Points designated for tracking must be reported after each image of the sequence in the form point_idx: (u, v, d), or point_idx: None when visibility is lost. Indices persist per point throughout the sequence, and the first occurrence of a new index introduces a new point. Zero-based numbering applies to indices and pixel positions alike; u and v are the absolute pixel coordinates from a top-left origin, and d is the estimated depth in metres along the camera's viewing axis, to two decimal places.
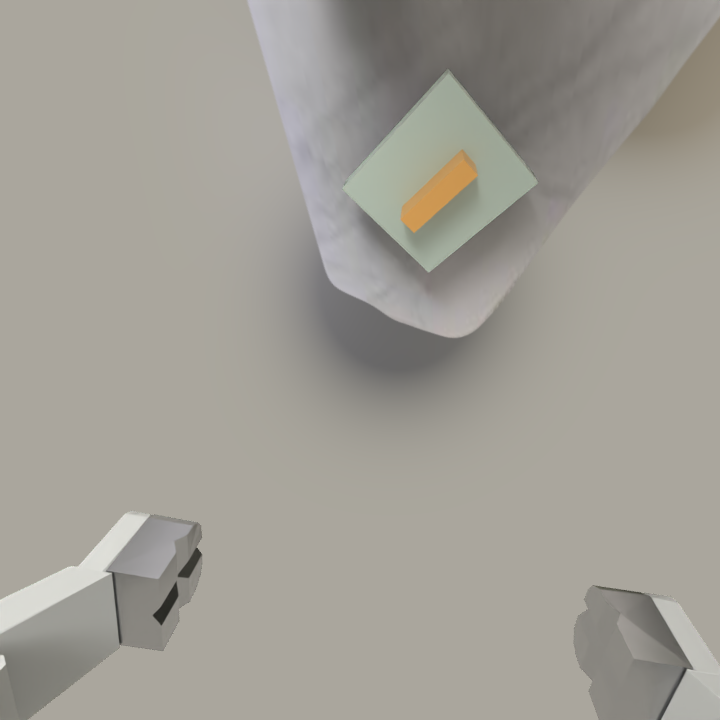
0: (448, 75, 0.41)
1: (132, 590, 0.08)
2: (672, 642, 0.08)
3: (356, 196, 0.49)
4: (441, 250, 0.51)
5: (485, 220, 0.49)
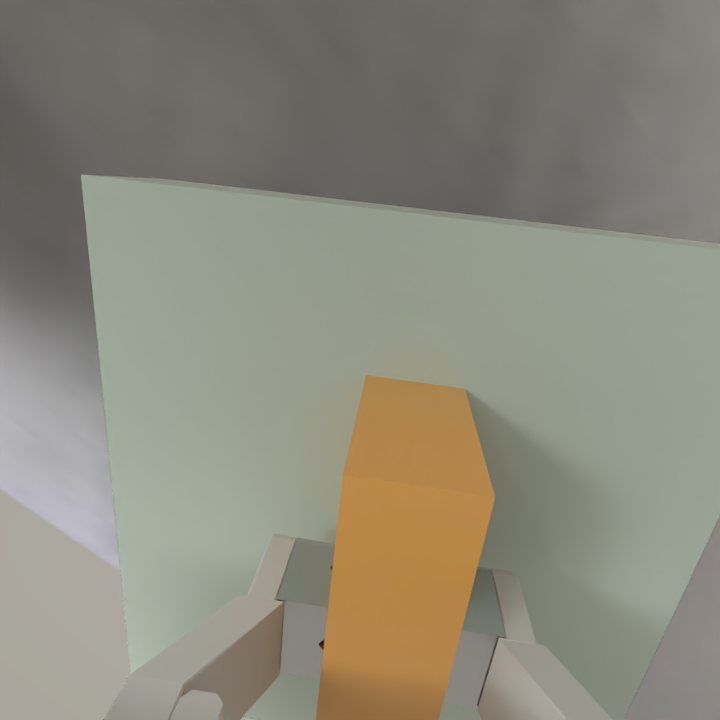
0: (87, 183, 0.09)
1: (301, 618, 0.08)
2: (498, 614, 0.08)
3: None
4: None
5: (682, 540, 0.10)
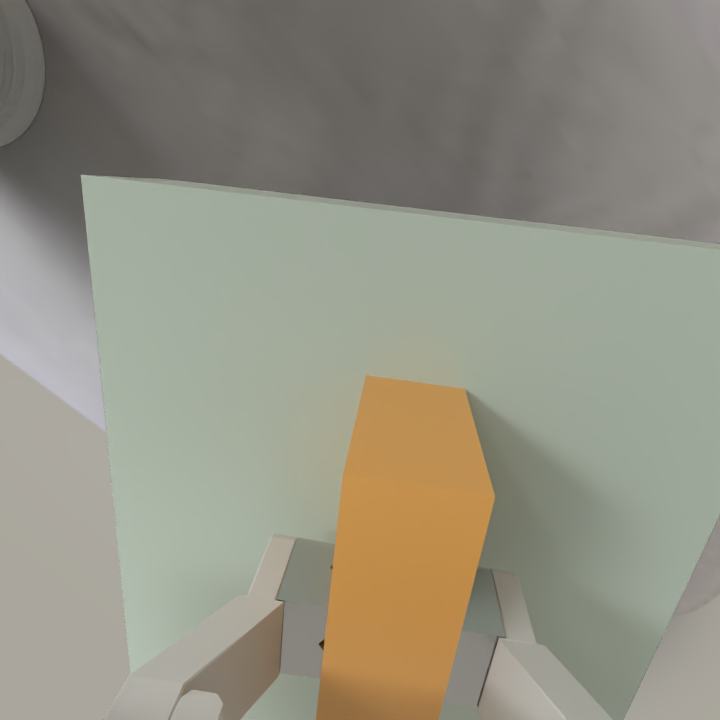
0: (87, 183, 0.09)
1: (301, 619, 0.08)
2: (498, 613, 0.08)
3: None
4: None
5: (682, 540, 0.10)
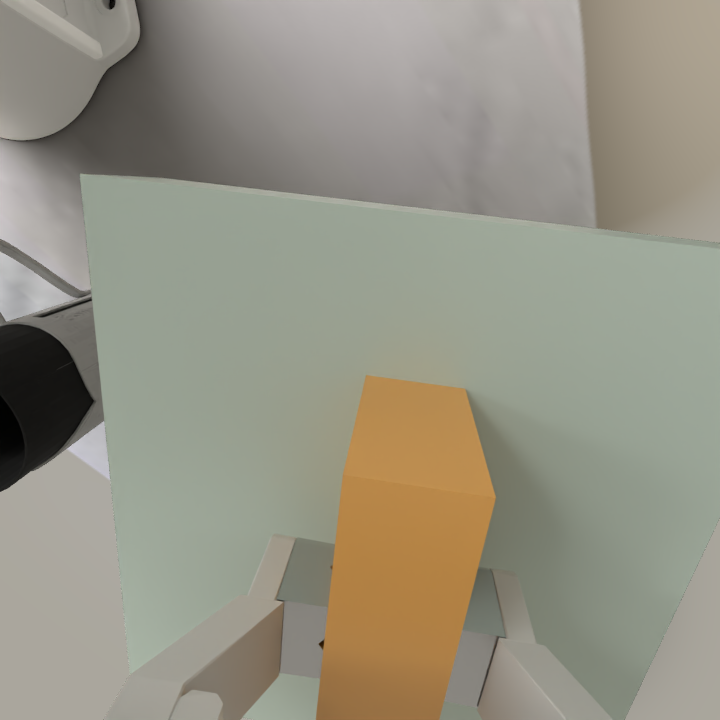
0: (86, 182, 0.09)
1: (301, 619, 0.08)
2: (498, 613, 0.08)
3: None
4: None
5: (683, 540, 0.10)
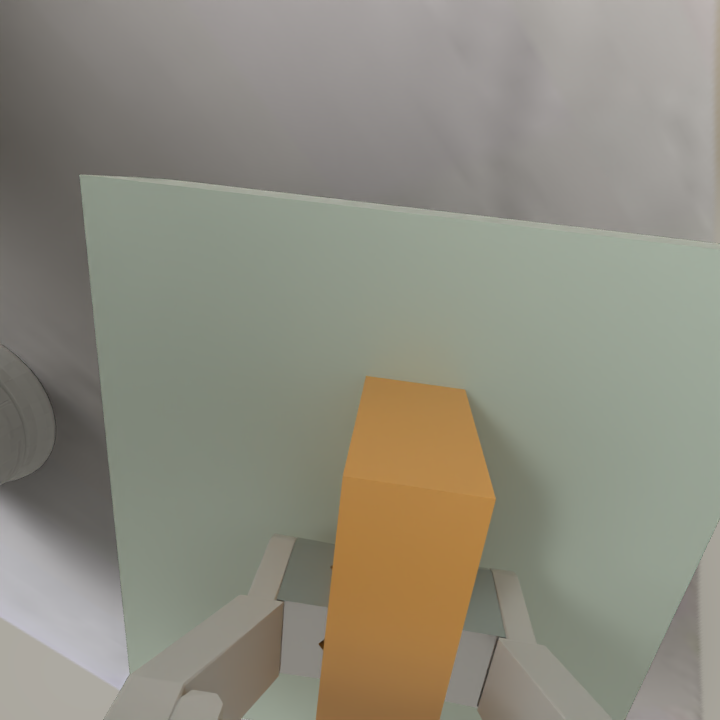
0: (85, 183, 0.09)
1: (301, 618, 0.08)
2: (498, 614, 0.08)
3: None
4: None
5: (683, 541, 0.10)
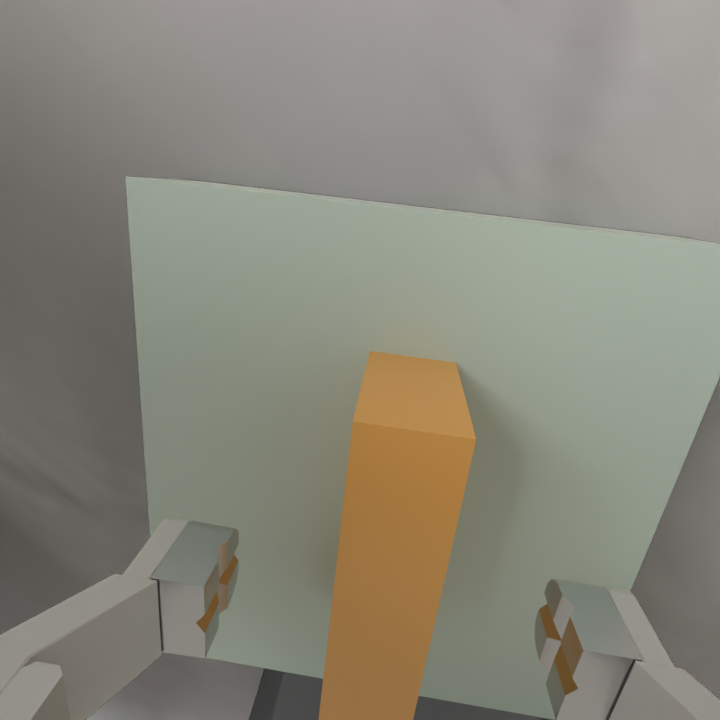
0: (130, 184, 0.10)
1: (176, 598, 0.08)
2: (624, 634, 0.08)
3: None
4: None
5: (647, 497, 0.11)
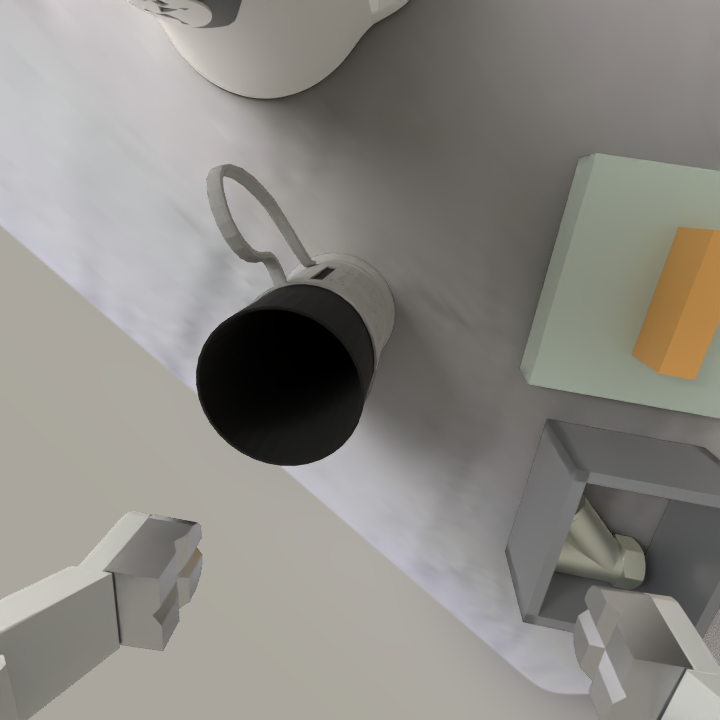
0: (597, 155, 0.26)
1: (132, 590, 0.08)
2: (673, 642, 0.08)
3: (554, 381, 0.31)
4: None
5: None
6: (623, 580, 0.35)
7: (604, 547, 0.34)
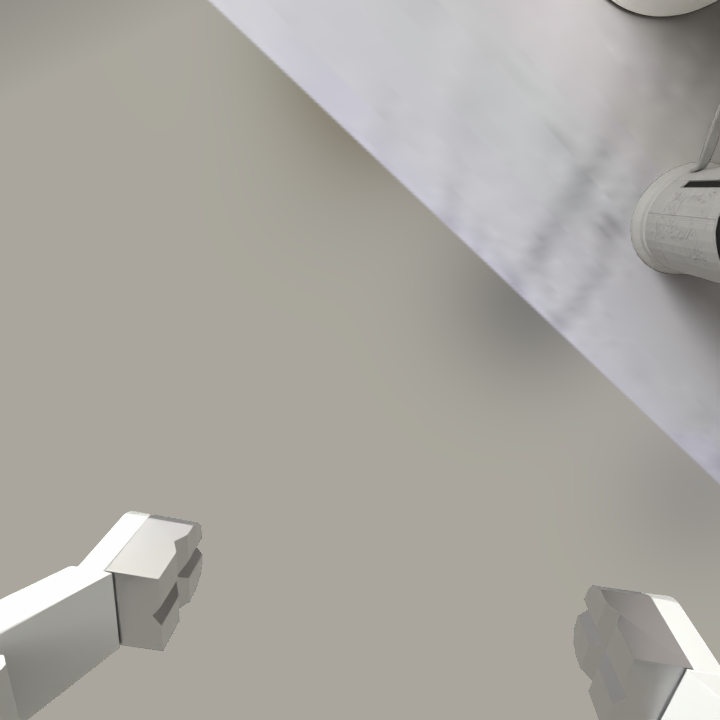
0: None
1: (132, 590, 0.08)
2: (672, 642, 0.08)
3: None
4: None
5: None
6: None
7: None
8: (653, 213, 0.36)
